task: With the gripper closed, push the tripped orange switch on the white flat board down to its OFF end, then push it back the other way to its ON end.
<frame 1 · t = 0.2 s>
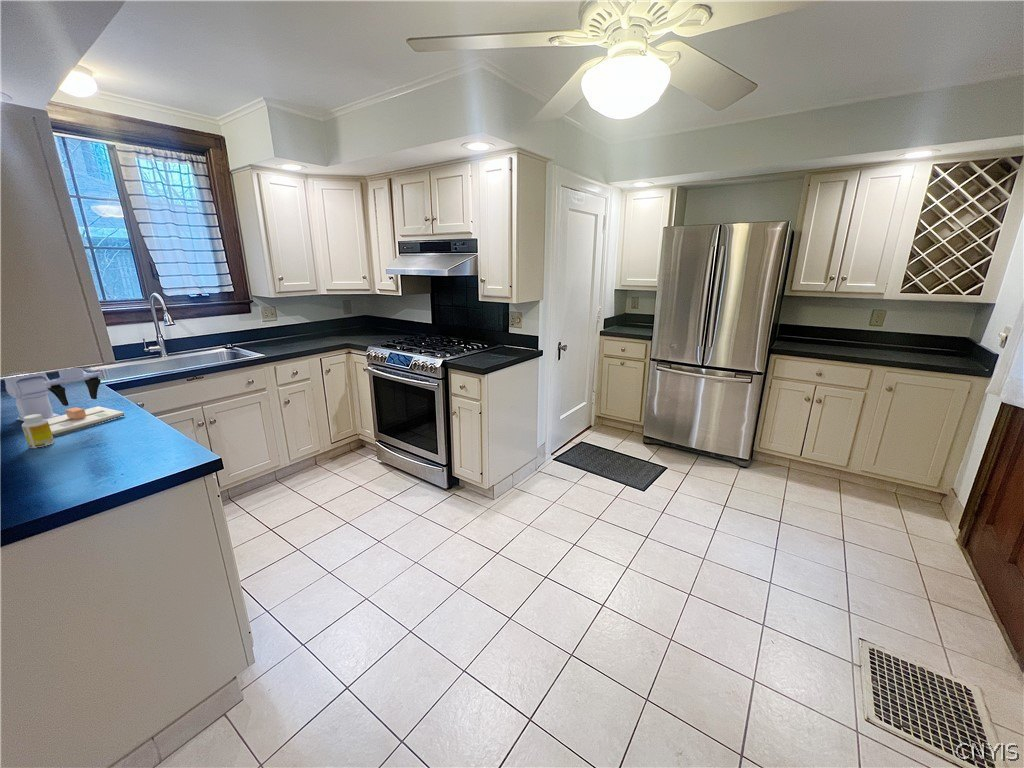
hand: (80, 402, 142), 10 cm above the worktop, tool pointing down, fingers open, 7 cm apart
white flat board: (78, 422, 149), on the worktop
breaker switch: (76, 414, 148), point 3 cm above the worktop, slide at 0.0 cm
supplement bottle: (42, 445, 132), on the worktop
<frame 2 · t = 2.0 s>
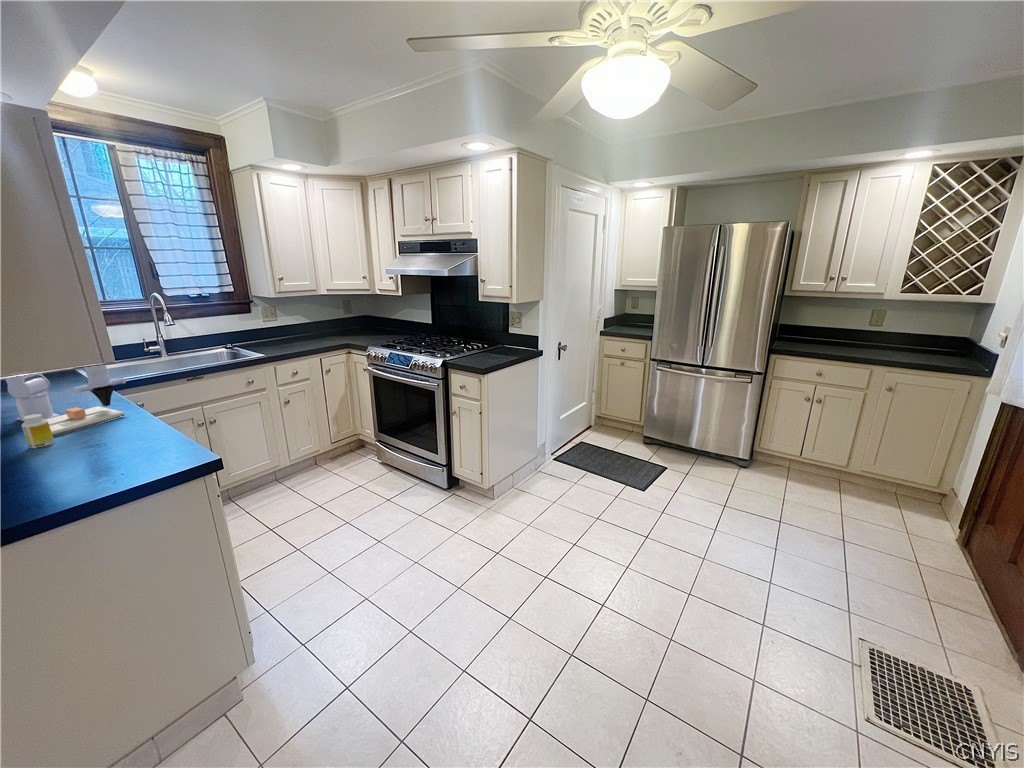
hand: (106, 405, 156), 4 cm above the worktop, tool pointing down, fingers closed
nothing on the worktop moved.
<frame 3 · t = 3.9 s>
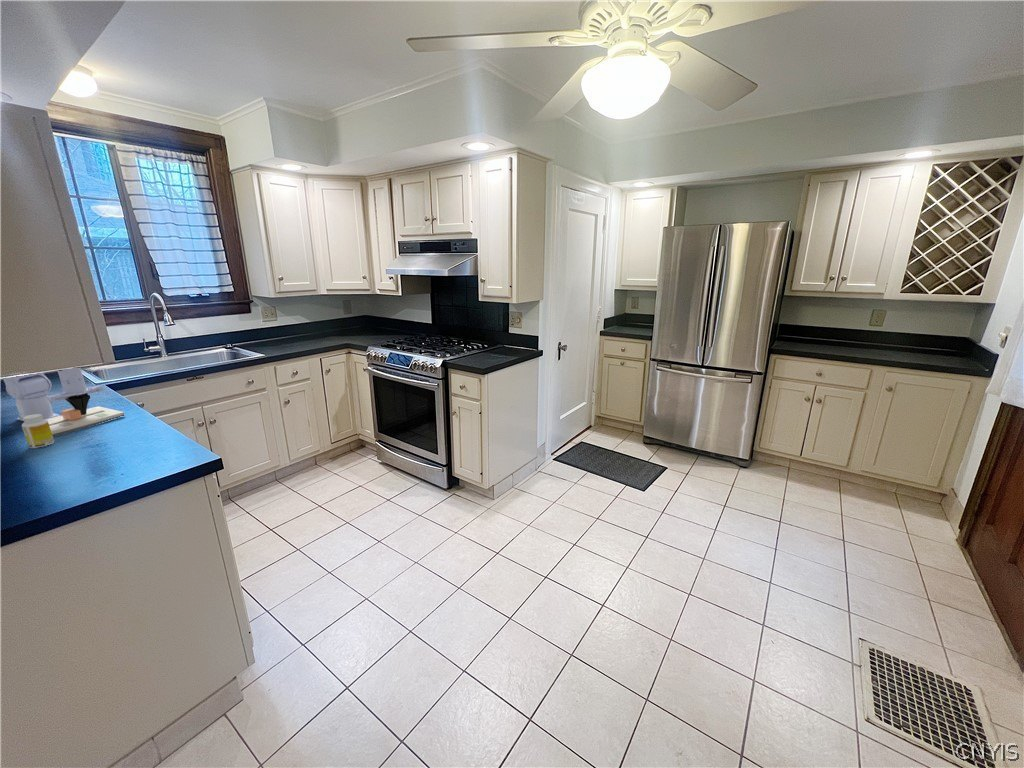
hand: (82, 414, 150), 3 cm above the worktop, tool pointing down, fingers closed
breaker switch: (72, 415, 147), point 3 cm above the worktop, slide at -1.2 cm, touching gripper
everything else where it was.
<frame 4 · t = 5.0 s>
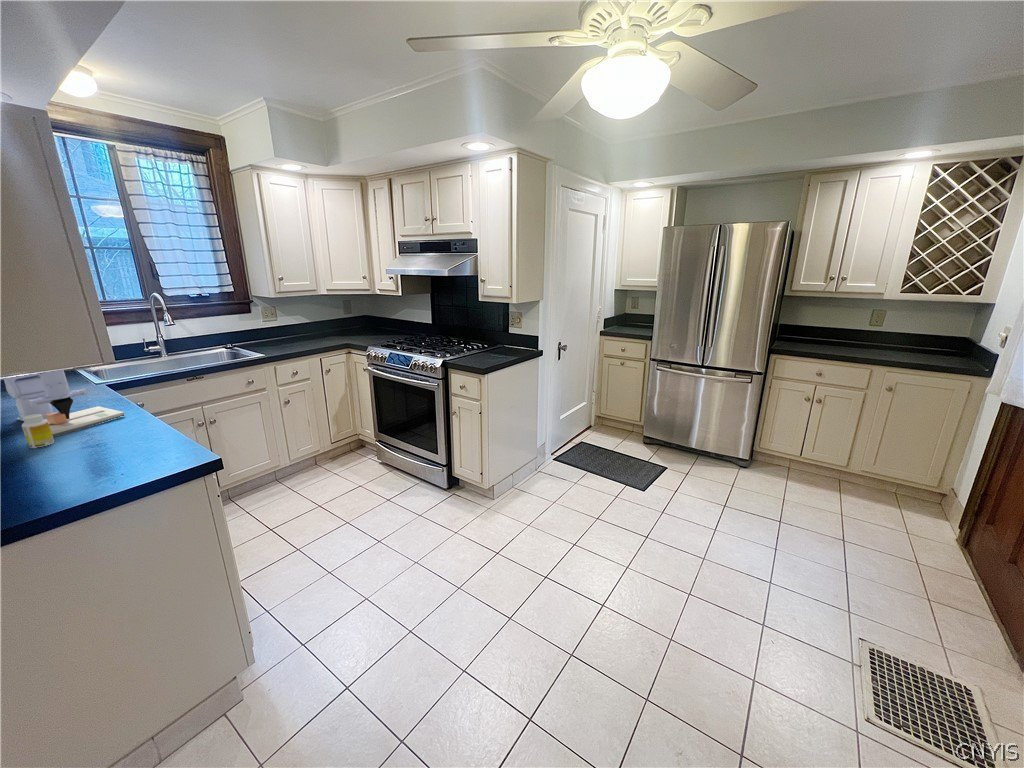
hand: (66, 418, 146), 3 cm above the worktop, tool pointing down, fingers closed
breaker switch: (56, 419, 143), point 3 cm above the worktop, slide at -5.3 cm, touching gripper
everything else where it was.
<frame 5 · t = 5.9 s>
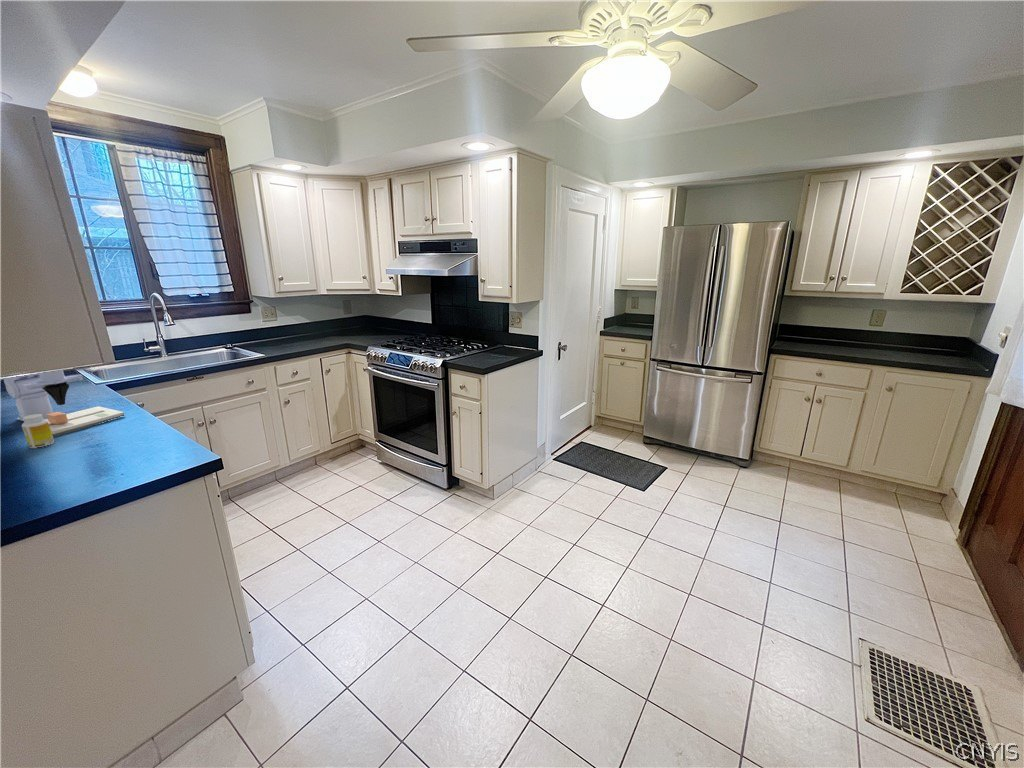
hand: (61, 404, 144), 8 cm above the worktop, tool pointing down, fingers closed
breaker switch: (57, 419, 144), point 3 cm above the worktop, slide at -5.1 cm
everything else where it was.
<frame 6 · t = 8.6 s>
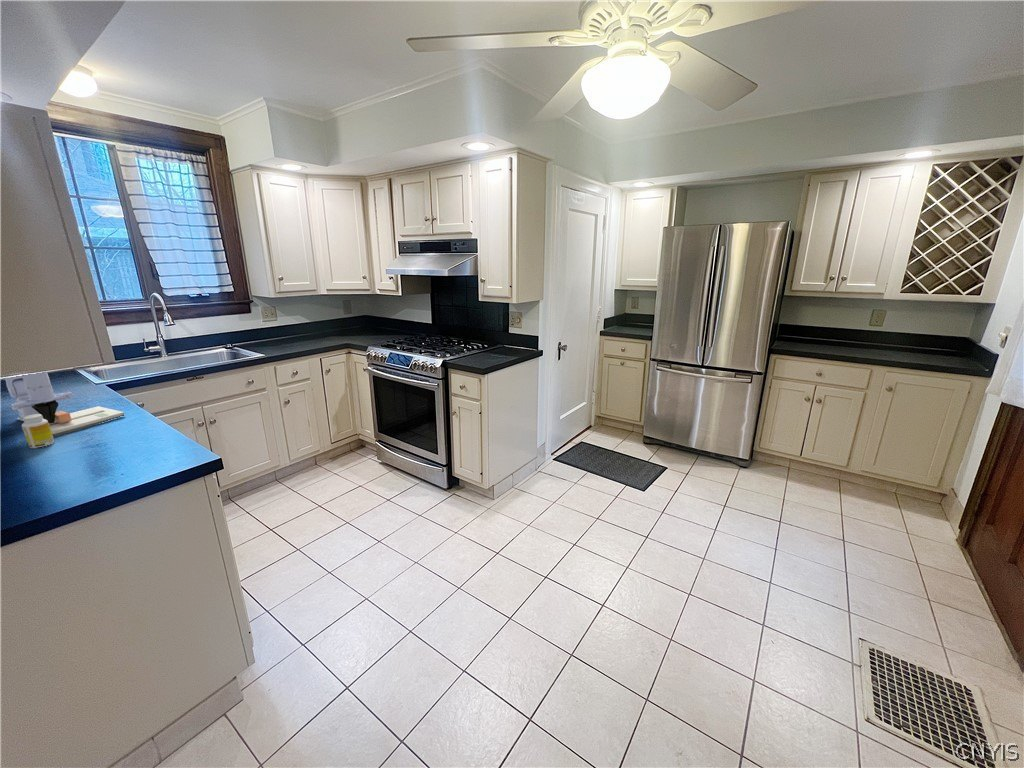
hand: (50, 422, 142), 3 cm above the worktop, tool pointing down, fingers closed
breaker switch: (61, 418, 144), point 3 cm above the worktop, slide at -4.1 cm, touching gripper
everything else where it was.
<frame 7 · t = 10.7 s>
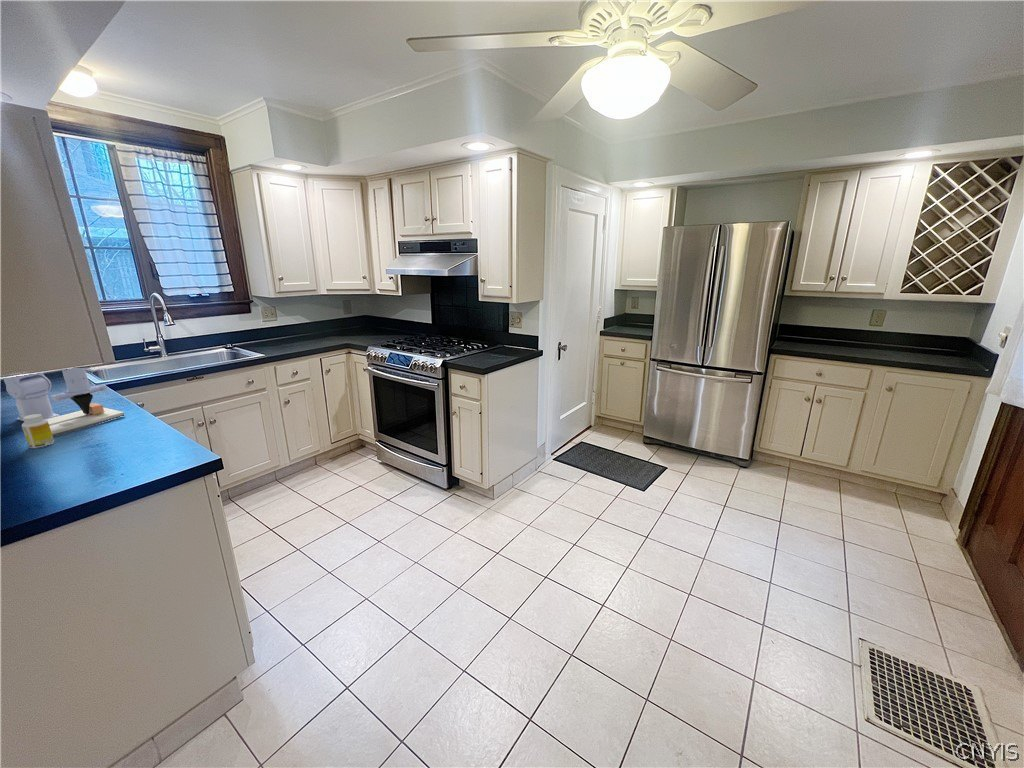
hand: (86, 413, 151), 3 cm above the worktop, tool pointing down, fingers closed
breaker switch: (94, 409, 153), point 3 cm above the worktop, slide at 5.3 cm, touching gripper
everything else where it was.
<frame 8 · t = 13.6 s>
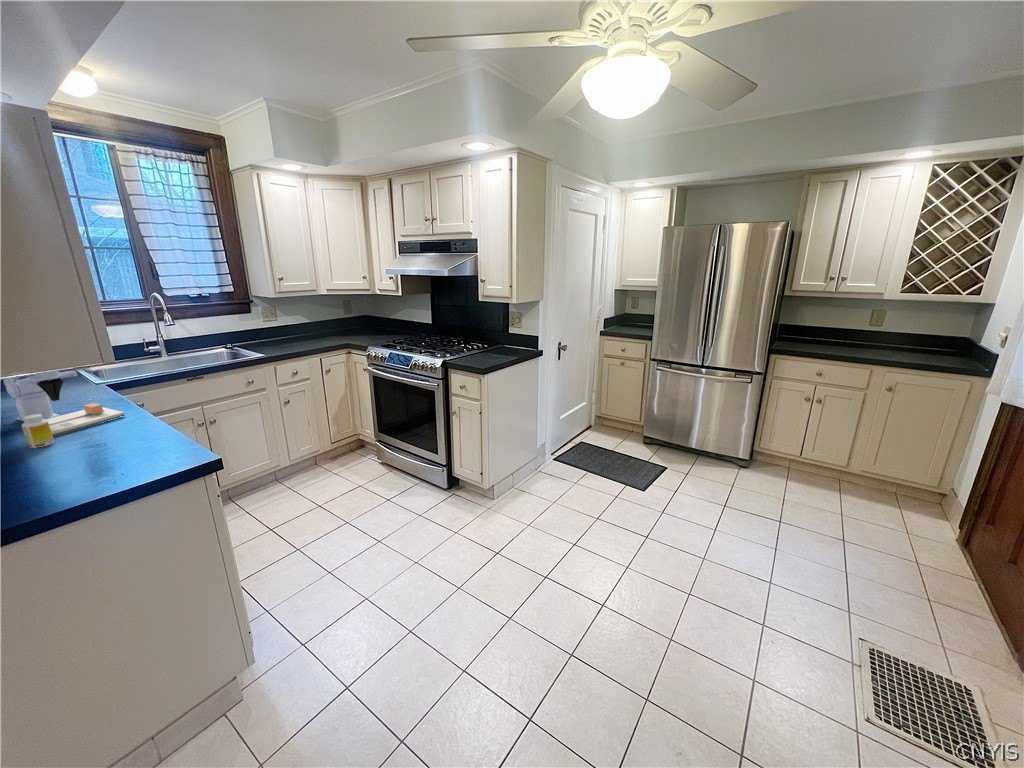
hand: (55, 400, 145), 9 cm above the worktop, tool pointing down, fingers closed
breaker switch: (93, 410, 153), point 3 cm above the worktop, slide at 5.1 cm
everything else where it was.
at the end: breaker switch slide at 5.1 cm; supplement bottle moved 0.2 cm from its start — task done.
